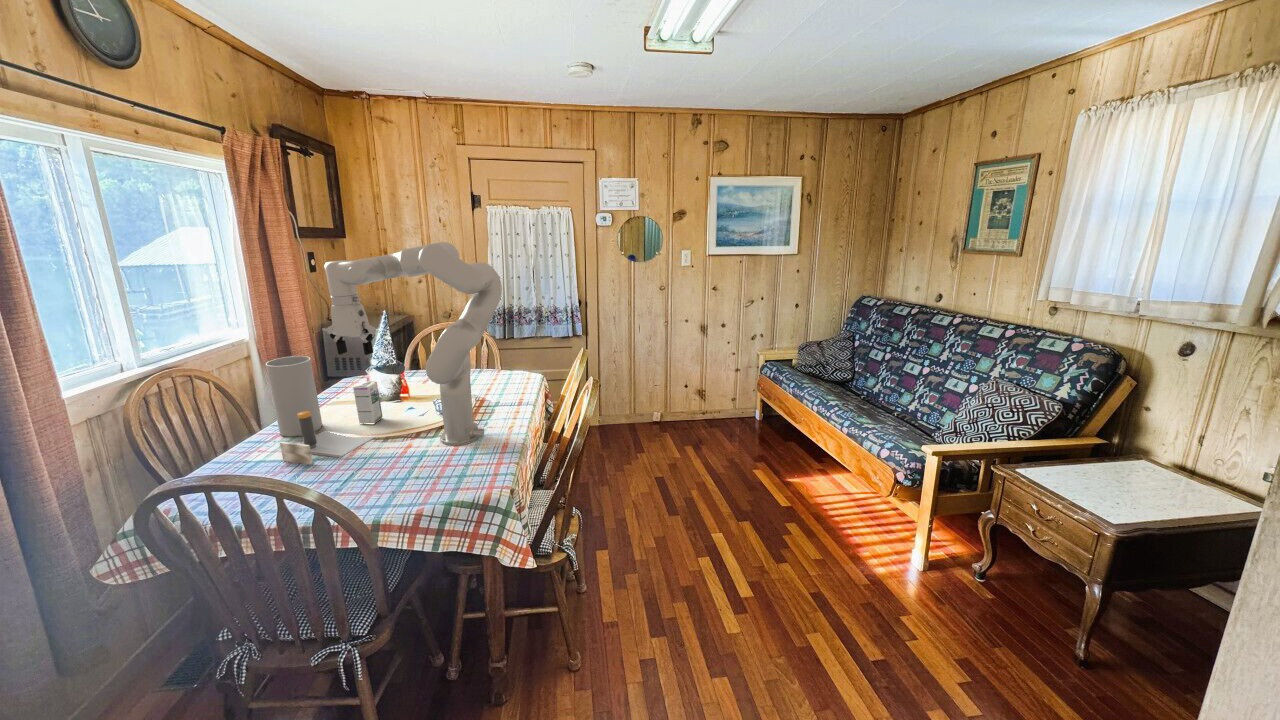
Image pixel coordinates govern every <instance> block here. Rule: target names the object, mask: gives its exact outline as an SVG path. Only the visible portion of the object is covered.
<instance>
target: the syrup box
mask: <svg viewBox="0 0 1280 720" xmlns="http://www.w3.org/2000/svg"><path fill="white" fill-rule="evenodd" d="M352 388H353V395H354V399H355V400H354V401H355V405H356V406H355V407H356V411H357V416H358V424H360V423H375V422H377V421H378V420H380V419H381V418H382V417H383V411H382V406H381V400H380V399H381V398H380V392H379V386H378V382H377V381H372V380H371V381H370V380H369V381H361V382H359V383H358V384H356V385H354V386H353V387H352ZM383 418H384V417H383ZM381 420H382V419H381ZM381 420H380V421H381ZM377 423H378V422H377Z"/></svg>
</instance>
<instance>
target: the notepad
mask: <svg viewBox="0 0 1280 720" xmlns="http://www.w3.org/2000/svg"><path fill="white" fill-rule="evenodd" d="M328 431H329V430H324V431H323V432H320V433H318V434H315V436H316V441H317V443H316V447H315V448H313V449H311V454H312V456H316V457H317V456H319V457H325V458H327V457H328V458H335V459H340V458H342V457H343V456H345V455H347V454H349V453H351V452H352V451H354V450H355V449H358V448H359V447H361V446H363V445H365V444H366V443H368V442H370V441H372V440H373V439H375V438H374V437H365V438H350V437H344V436H341V435H337V434H334V433H330V432H328ZM299 444H304V441H302V442H299Z"/></svg>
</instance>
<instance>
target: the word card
mask: <svg viewBox="0 0 1280 720" xmlns="http://www.w3.org/2000/svg"><path fill="white" fill-rule="evenodd" d="M279 445H280V450H281V455H282V461H283V462H288V461H289V463H297V464H303V465H304V464H305V465H312V464H314V463H313V462H314V460H313V457H312V456H313V455H312V454H311V449H310V445H305V444H300V443H295V442H289V441H287V442H286V441H281V442H279Z"/></svg>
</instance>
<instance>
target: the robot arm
mask: <svg viewBox="0 0 1280 720" xmlns="http://www.w3.org/2000/svg"><path fill="white" fill-rule="evenodd" d="M324 271H325V276H326V282H327V286H328V291H329V295H330V301H331V306H330V307H331V308H330V309H331V311H330V312H331V325H329V326H327V328H326V332H327V333H328V335H329V337H330V338H331V339H332V340H333V342H334V343H335V344H336V349H337V354H338V355H343V354H346V353H347V352H348V349H347V348H348V347H347V343H346V340H345V339H344V338H360V339H361V340H362V348H363V353H364V355H365V356H369V355H371V354H373V353H374V349H373V344H372V343H373V342H372V341H373V340H374V338H375V336H376V332H377V328H376V327H375V326H373V325H371V324H370V322H369V319H368V315H367V312H366V310H365V307H364V305H363V304H362V303H360V302H361V301H362V297H360V296H359V292H358V287H357V286H365V285H368V284H371V283H376V282H381V281H384V280H391V279H396V278H400V277H402V278H403V277H407V278H415V277H418V276H423V275H424V276H425V275H429V274H430V275H432V276H433V277H435V279H436V278H437V280H439V281H440V282H443V283H445V285H448V286H450V287H452V288H453V289H454V290H456V291H458V292H460V293H462V294H465V295H471V296H470V298H469V299H468V301H467V303H466V305H465V307H464V310H463V311H462V313H461V314H460V316H459V318H458V319H457V320H455V322H453V323H451V324H450V325H448V326H447V327H446V328H445V329H444V330H443V331H442V333H441V334H440V336H439V337H438V339H437V341H436V343H435V345H434V347H433V349H432V350H431V353H430V355H429V356H428V358H427V360H426V363H425V373H426V376H427V377H428V379H429V380H430V381H431V382H433V383H434V384H437V385H439V394H440V404H441V413H442V421H443V428H444V429H443V430H444V432H443V433H441V435H440V438H439V440H440V442H441V443H442V444H443V445H444V444H445V445H446V446H447V445H448V446H461V445H466V444H470V443H473V442H475V441H477V440H478V439H479V438H481V437H482V438H483V437H484V436H485V428H481V427H478V423H476V422H475V421H474V419H475V418H474V410H473V400H472V399H473V397H472V387H471V385H472V384H471V365H472V364H471V363H472V362H471V361H472V360H471V357H470V354H469V353H470V351H472V349H474V348H475V347H477V346H478V344H480V341H482V340H481V339H482V337H483V335H484V334H485V332H486V329H487V327H488V326H489V324H490V323H491V319H492V318H493V316H494V314H495V312H496V310H497V308H498V306H499V304H500V302H501V301H500V300H501V298H502V294H503V293H502V292H503V287H502V286H503V285H502V280H501V278H500V275H499V274H498V272H497V271H496V269H495V268H494V267H493V266H492V265H490V264H488V263H486V262H482V261H481V262H477V261H476V262H473V263H467V262H465V261H463V260H462V259H460V253H459V250H458V248H457V247H456V246H455V245H454V244H452V243H449V242H446V241H445V242H444V241H441V242H433V243H429V244H425V245H419V246H415V247H409V248H405V249H401V250H400V251H399V252H394V253H391V254H385V255H379V256H374V257H366V258H361V259H356V260H342V259H341V260H331V261H327V262H325V264H324Z"/></svg>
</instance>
